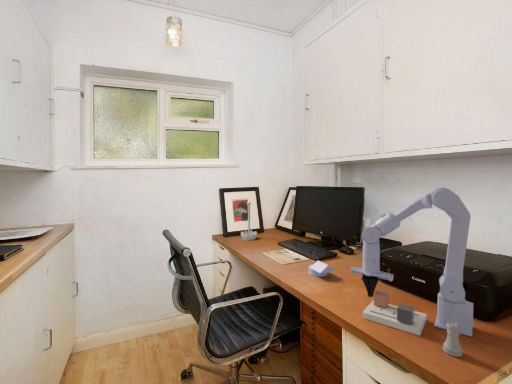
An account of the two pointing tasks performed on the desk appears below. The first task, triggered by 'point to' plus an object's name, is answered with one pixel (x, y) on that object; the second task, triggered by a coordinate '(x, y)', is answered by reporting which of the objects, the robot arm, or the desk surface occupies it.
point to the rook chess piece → (452, 340)
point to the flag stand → (250, 234)
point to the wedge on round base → (319, 269)
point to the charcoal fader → (405, 313)
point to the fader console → (394, 318)
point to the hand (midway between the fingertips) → (370, 296)
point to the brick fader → (381, 298)
